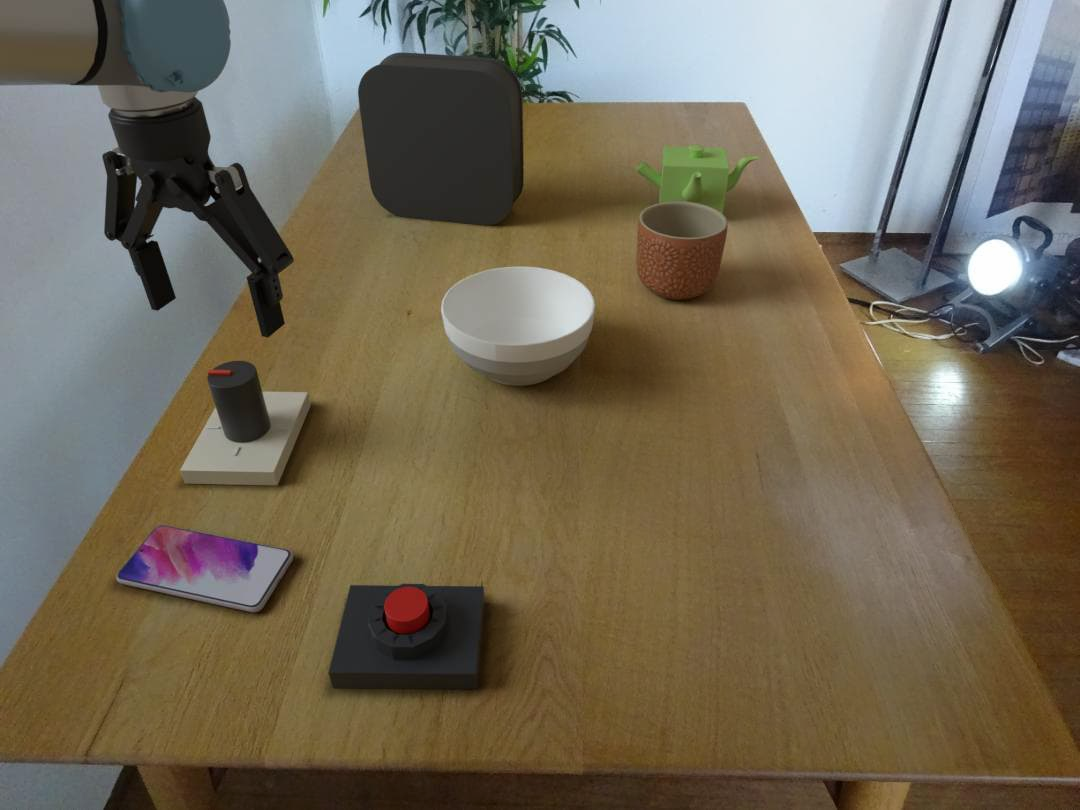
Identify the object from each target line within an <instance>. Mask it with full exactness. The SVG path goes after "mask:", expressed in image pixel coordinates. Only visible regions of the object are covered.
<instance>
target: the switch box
mask: <svg viewBox="0 0 1080 810" xmlns="http://www.w3.org/2000/svg"><path fill="white" fill-rule="evenodd" d="M402 587H415V588H418V589H420V590H422V591H423V592H424V593H425V594H426V596H427V599H428V605H429V613H430V616H429V620H428V622H427V624H426V625H425V626H424V627H423V628H422V629H421V630H419V631H417V632H415V633H412V634H399V633H396V632H394V631H393V630H392V629H390V627H389V626H388V624H387V620H386V615H385V609H384V604H385V601H386V599H387V597H388V596H389V595H390V594H391V593H392V592H393V591H395V590H397V589H399V588H402ZM485 604H486V603H485V587H484V586H483V585H482V586H479V585H477V586H476V585H469V586H468V585H426V584H425V583H401V584H398V585H384V584H383V585H379V584H377V585H375V584H374V585H373V584H372V585H371V584H370V585H369V584H368V585H367V584H363V585H362V584H360V585H359V584H350V585H349V588H348V593H347V596H346V600H345V605H344V609H343V612H342V617H341V621H340V625H339V629H338V633H337V637H336V641H335V644H334V649H333V653H332V656H331V660H330V664H329V669H328V676H329V680H330V683H331V686H332V689H391V690H392V689H394V690H395V689H396V690H397V689H398V690H399V689H402V690H403V689H404V690H405V689H406V690H408V689H409V690H415V689H416V690H478V687H479V675H480V663H481V652H482V651H481V649H482V641H483V640H482V639H483V629H484V627H483V626H484V615H485Z"/></svg>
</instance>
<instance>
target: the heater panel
mask: <svg viewBox="0 0 1080 810" xmlns="http://www.w3.org/2000/svg"><path fill="white" fill-rule="evenodd" d="M262 393H263V396H264V400H265V404H266V408H267V412H268V415H269V419H270V423H271V425H270V429H269V431H268V432H267V433H266V434H265V435H264V436H262V437H261V438H259V439H256V440H254V441H250V442H244V443H238V442H233V441H230V440H229V439H227V438H226V437H225V435H224V431H223V428H222V425H221V422H220V419H219V415H218V412H217V409H216V406H215V408H214V409H213V411H212V413H211V415H210V417H209V418H208V420H207V422H206V423H205V425H204V427H203V428H202V430H201V433H200V434H199V436H198V437H197V440H196V441H195V443H194V445H193V446H192V448H191V450H190V452H189V454H188V455H187V457H186V459H185V461H184V462H183V464H182V466H181V467H180V470H179V471H180V474H181V476H182V479H183V482H184V484H186V485H229V486H231V485H232V486H234V485H235V486H276V487H277V486H278V485H279V483H280V481H281V478H282V476H283V474H284V470H285V468H286V466H287V464H288V461H289V459H290V456H291V454H292V452H293V449H294V447H295V444H296V442H297V439H298V438H299V435H300V432H301V431H302V430H301V429H302V427H303V426H304V423H305V420H306V418H307V415H308V413H309V411H310V409H311V404H312V403H311V400H310V395H309V392H307V391H263V390H262Z"/></svg>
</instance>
